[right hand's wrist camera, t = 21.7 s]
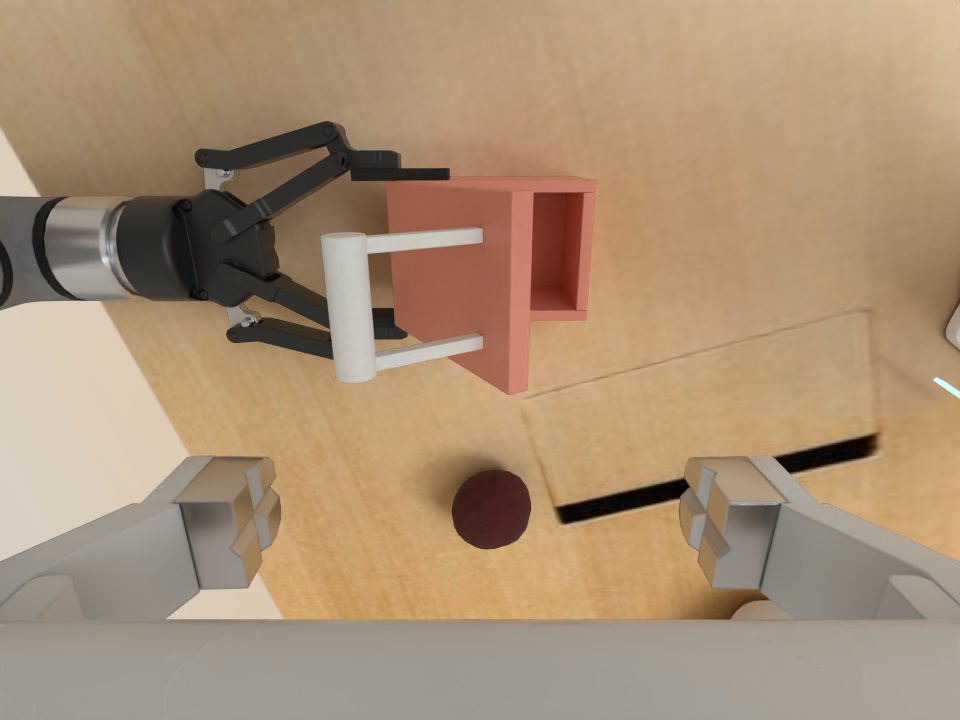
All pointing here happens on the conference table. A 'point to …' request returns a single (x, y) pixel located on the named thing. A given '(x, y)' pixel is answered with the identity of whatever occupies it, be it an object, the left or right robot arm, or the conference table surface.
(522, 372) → the pink board with handle
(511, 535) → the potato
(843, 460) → the conference table surface
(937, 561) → the right robot arm
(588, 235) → the chest
